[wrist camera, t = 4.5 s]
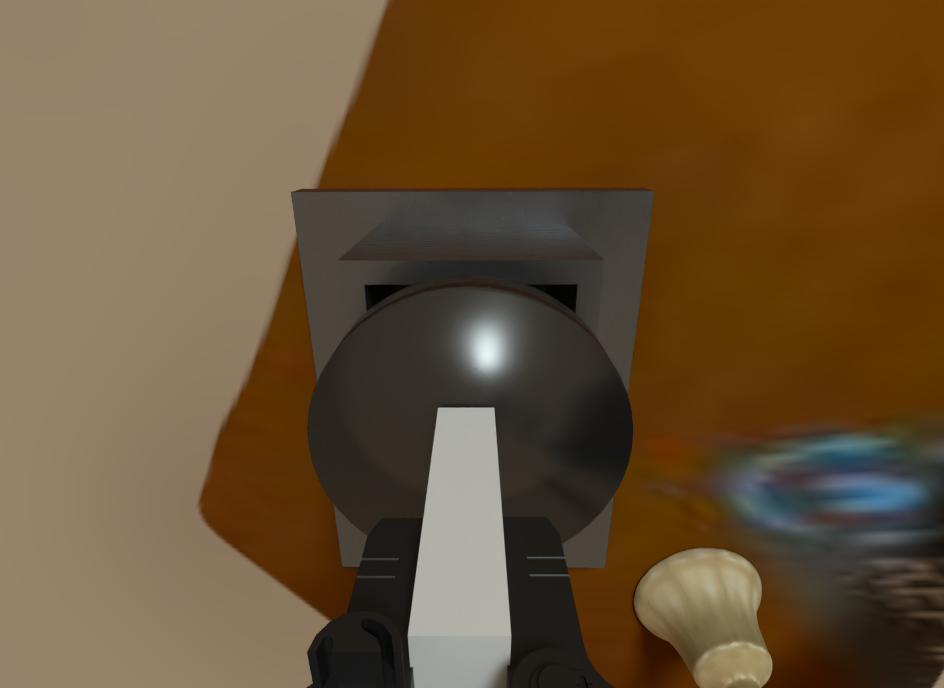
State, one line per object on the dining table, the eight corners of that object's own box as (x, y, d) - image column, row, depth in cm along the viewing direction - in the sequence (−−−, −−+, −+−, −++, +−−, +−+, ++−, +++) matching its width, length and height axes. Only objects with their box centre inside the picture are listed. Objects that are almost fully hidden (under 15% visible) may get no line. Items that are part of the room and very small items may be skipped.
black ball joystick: (581, 228, 20) (654, 290, 12) (555, 546, 27) (591, 728, 19) (362, 228, 20) (285, 290, 12) (390, 545, 27) (351, 727, 19)
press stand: (643, 187, 23) (838, 246, 11) (599, 548, 32) (679, 816, 19) (302, 188, 23) (102, 247, 11) (348, 547, 32) (265, 813, 19)
